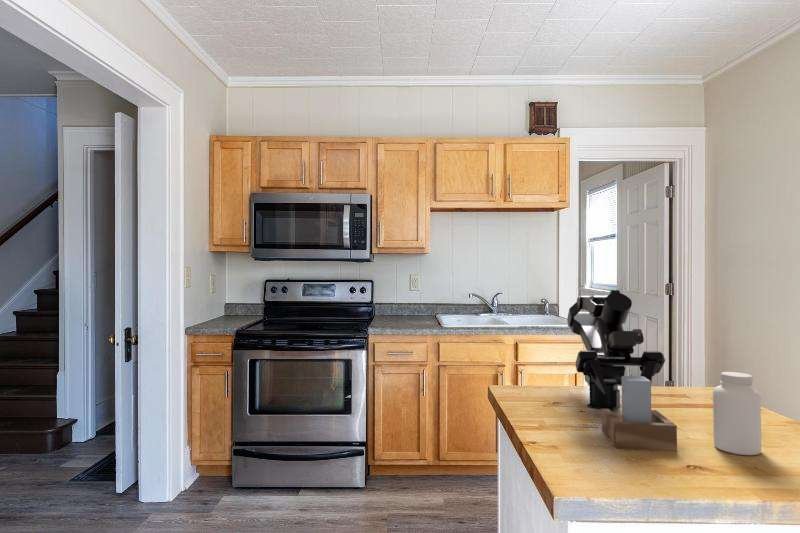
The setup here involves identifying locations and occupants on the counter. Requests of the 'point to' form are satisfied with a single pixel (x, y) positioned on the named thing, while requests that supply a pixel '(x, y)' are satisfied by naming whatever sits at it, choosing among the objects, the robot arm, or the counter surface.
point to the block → (636, 399)
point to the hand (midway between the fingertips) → (627, 394)
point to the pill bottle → (737, 415)
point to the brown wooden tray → (640, 432)
